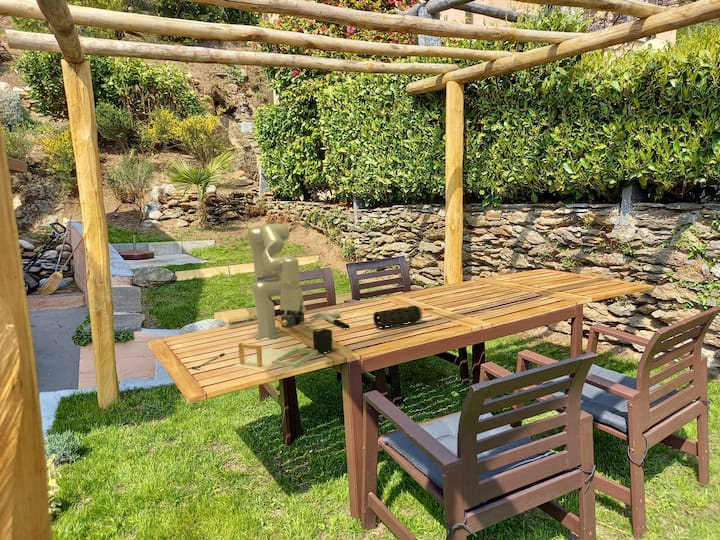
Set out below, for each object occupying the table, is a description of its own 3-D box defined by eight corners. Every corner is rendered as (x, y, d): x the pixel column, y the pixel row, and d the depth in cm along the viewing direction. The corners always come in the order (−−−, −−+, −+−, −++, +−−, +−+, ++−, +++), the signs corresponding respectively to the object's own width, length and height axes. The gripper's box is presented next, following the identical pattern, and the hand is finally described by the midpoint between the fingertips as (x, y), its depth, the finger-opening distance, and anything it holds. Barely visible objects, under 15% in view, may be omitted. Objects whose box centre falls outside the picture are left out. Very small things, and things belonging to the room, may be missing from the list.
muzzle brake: (373, 327, 272) (372, 309, 270) (414, 320, 284) (413, 303, 282) (381, 331, 263) (380, 313, 262) (423, 324, 276) (423, 306, 274)
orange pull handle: (242, 362, 216) (241, 342, 215) (262, 365, 211) (261, 345, 210) (239, 363, 214) (238, 343, 213) (259, 366, 210) (258, 346, 208)
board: (268, 349, 236) (268, 348, 236) (291, 353, 230) (291, 351, 230) (233, 367, 213) (233, 365, 213) (258, 371, 207) (258, 369, 207)
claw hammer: (361, 320, 272) (336, 308, 298) (327, 326, 261) (304, 314, 286) (361, 329, 273) (336, 317, 299) (327, 336, 262) (304, 322, 287)
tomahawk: (202, 373, 210) (202, 370, 209) (191, 370, 212) (191, 367, 212) (233, 357, 229) (233, 355, 228) (222, 354, 231) (222, 352, 231)
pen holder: (316, 348, 237) (315, 328, 235) (334, 348, 235) (333, 329, 234) (311, 354, 228) (310, 334, 226) (330, 354, 226) (329, 334, 225)
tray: (296, 352, 231) (296, 347, 231) (317, 355, 226) (317, 350, 226) (272, 365, 213) (272, 360, 213) (294, 369, 208) (294, 363, 208)
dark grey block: (297, 320, 224) (297, 309, 224) (305, 320, 222) (305, 310, 222) (280, 327, 212) (279, 317, 211) (288, 328, 210) (287, 317, 209)
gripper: (271, 285, 215) (273, 324, 217) (302, 287, 207) (304, 328, 210) (280, 282, 221) (282, 320, 224) (311, 284, 214) (313, 323, 217)
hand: (293, 323), depth 217 cm, fingers closed on dark grey block, 4 cm apart
